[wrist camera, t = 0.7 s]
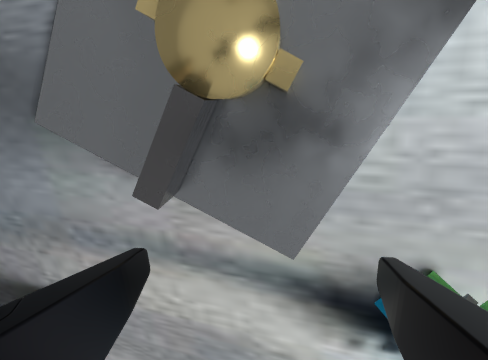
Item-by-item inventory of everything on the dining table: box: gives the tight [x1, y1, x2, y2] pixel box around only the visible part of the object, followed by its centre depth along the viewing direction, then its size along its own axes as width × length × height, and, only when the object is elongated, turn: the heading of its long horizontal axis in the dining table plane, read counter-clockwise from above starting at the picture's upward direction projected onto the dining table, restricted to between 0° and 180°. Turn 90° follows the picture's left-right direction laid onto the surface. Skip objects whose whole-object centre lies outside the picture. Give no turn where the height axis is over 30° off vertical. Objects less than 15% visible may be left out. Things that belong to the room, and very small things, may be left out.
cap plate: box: [35, 0, 476, 260], centre depth 16 cm, size 24×24×4 cm
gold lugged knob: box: [132, 0, 303, 209], centre depth 16 cm, size 16×10×3 cm, turn 153°
